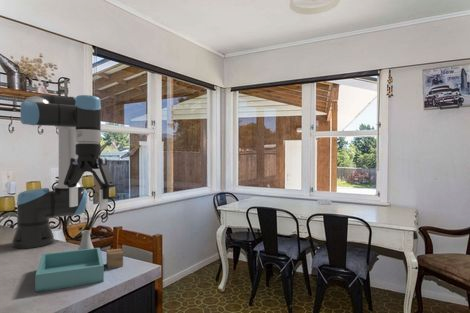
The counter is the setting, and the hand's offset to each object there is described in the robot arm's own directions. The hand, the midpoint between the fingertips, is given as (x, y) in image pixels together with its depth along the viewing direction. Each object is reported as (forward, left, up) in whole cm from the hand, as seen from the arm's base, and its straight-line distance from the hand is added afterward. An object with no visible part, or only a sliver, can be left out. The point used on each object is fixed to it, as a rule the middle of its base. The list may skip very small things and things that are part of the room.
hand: (88, 208), depth 104 cm
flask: (-17, 0, -22) cm, 28 cm away
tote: (-1, -5, -22) cm, 22 cm away
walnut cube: (-4, +9, -22) cm, 24 cm away
